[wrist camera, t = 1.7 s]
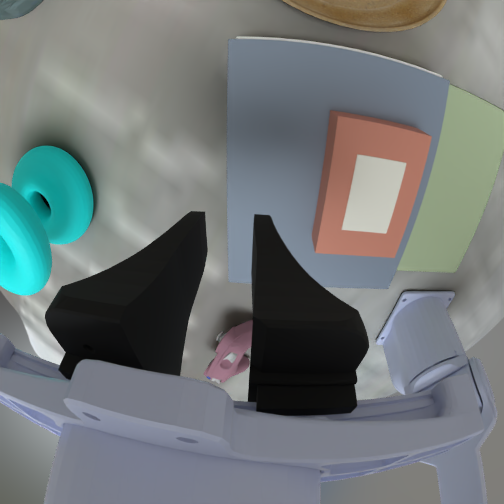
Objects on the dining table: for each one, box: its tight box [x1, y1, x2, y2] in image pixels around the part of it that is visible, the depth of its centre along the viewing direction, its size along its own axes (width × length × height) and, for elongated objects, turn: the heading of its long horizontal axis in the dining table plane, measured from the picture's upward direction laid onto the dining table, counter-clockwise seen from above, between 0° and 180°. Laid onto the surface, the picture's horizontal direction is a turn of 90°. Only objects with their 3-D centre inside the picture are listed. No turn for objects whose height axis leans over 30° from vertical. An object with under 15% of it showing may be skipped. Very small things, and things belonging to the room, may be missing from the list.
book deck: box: [227, 37, 450, 289], centre depth 19 cm, size 18×14×3 cm
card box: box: [312, 110, 432, 258], centre depth 16 cm, size 9×6×2 cm, turn 178°
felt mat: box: [397, 84, 504, 273], centre depth 20 cm, size 18×9×1 cm, turn 178°
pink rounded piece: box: [204, 320, 253, 384], centre depth 31 cm, size 10×5×7 cm, turn 161°
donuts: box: [0, 146, 93, 295], centre depth 18 cm, size 10×10×10 cm
